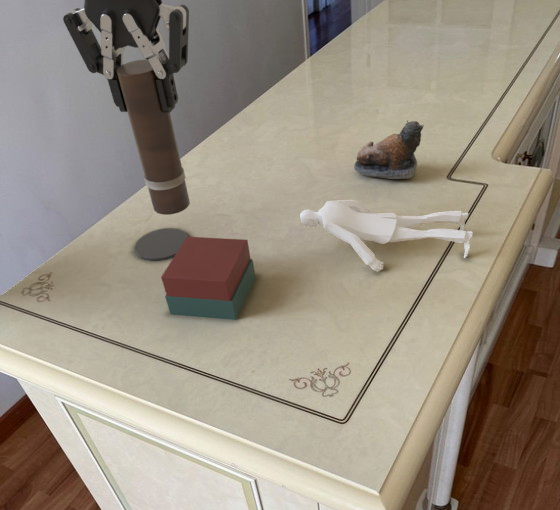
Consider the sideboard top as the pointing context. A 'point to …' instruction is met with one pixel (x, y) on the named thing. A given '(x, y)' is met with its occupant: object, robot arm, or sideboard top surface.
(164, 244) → the coaster
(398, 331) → the sideboard top surface
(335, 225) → the male figurine
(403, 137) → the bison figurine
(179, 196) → the pepper mill
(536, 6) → the sideboard top surface
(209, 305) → the red and teal box
